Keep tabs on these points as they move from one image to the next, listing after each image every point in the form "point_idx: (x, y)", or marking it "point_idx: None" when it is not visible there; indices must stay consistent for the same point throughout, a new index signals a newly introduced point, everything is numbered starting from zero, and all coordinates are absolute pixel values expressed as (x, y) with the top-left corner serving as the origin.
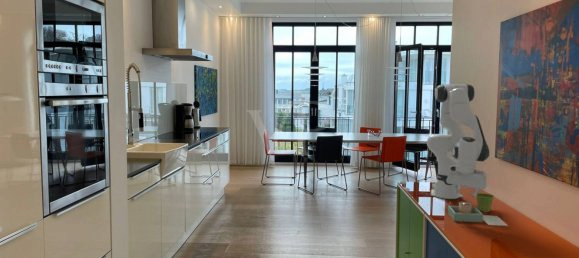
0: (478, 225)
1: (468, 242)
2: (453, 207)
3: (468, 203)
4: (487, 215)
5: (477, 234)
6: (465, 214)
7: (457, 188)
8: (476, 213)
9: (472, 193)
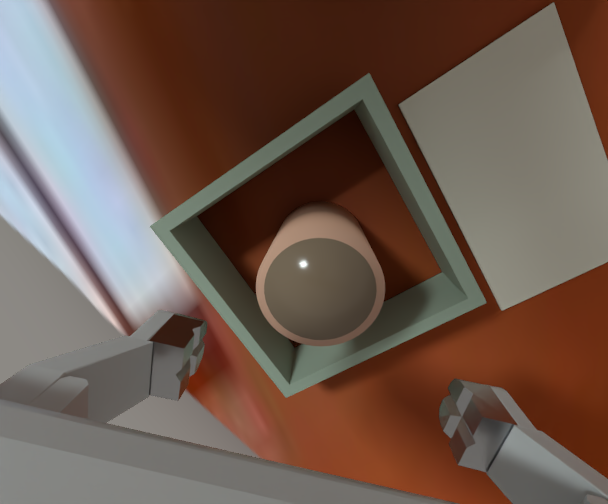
0: (442, 353)
1: None
2: (198, 211)
3: (347, 270)
4: (468, 60)
5: (463, 483)
6: (357, 360)
7: (123, 372)
8: (397, 179)
9: (459, 464)
